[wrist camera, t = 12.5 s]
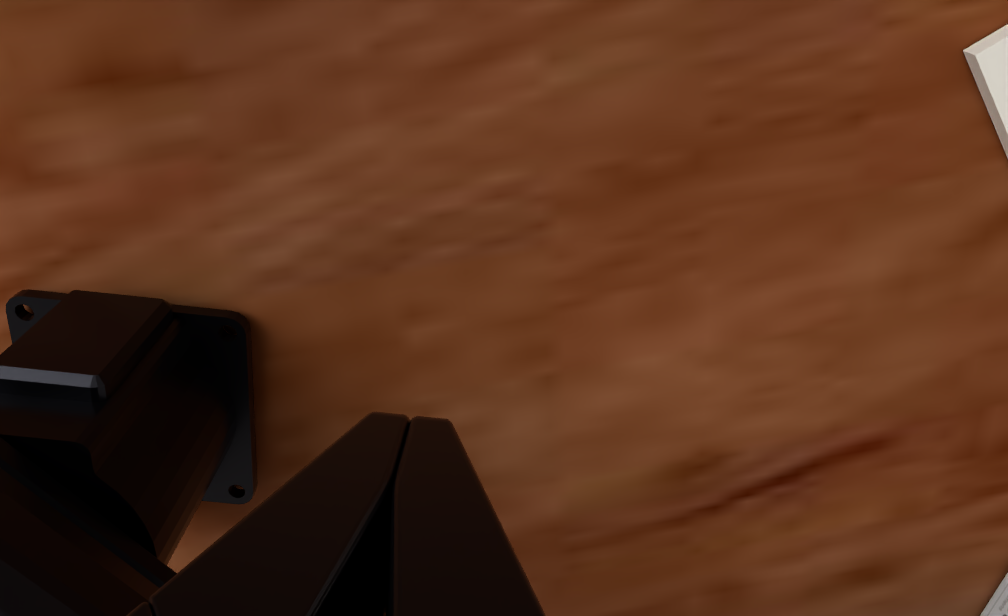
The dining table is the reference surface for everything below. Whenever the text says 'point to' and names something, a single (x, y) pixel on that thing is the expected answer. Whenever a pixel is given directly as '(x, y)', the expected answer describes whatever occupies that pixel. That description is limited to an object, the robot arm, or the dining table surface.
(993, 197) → the dining table surface
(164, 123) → the dining table surface
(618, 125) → the dining table surface
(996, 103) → the label plate
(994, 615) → the light bulb box
